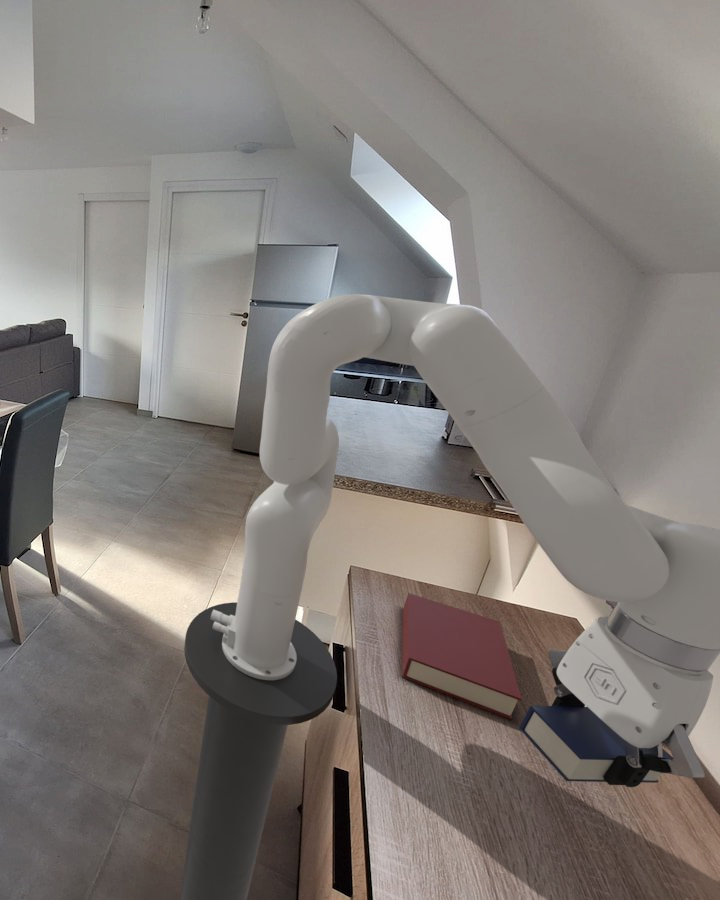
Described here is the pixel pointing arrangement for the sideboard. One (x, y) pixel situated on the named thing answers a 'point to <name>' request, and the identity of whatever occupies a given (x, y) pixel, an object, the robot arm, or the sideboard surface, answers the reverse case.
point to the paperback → (576, 742)
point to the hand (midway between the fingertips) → (587, 749)
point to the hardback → (458, 655)
